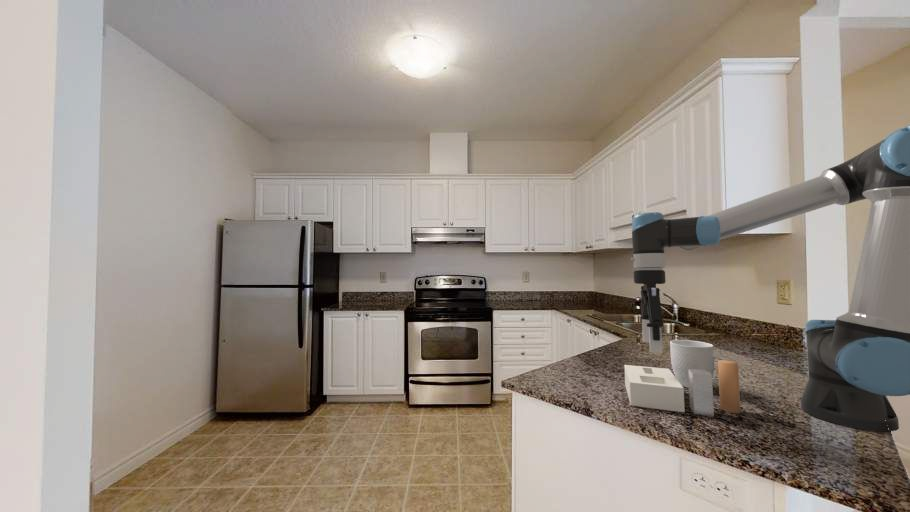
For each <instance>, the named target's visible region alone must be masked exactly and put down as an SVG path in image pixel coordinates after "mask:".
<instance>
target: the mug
mask: <svg viewBox="0 0 910 512" xmlns="http://www.w3.org/2000/svg"><path fill="white" fill-rule="evenodd" d="M669 344H670V347H669V348H670V349H669V350H670V353H669V354H670V363H671V368H672V370H673V371H672V373H673V375H674V376H675V377H676V379H677V380H678V381H679V383H680V384H681V385H682V387H683V388H688V389H689V375H688V369H698V370H707V371H708V372H709V373H711V374H712V385H713V384H715V385H716V384H718V385H719V379H718V380H716V379H713V376H714V373H715V372H714V371H715V360H727V359H726V358H725V357H723V356H721V355H719V354H715V351H714V350H715V349H714V345H713V344H712V343H708V342H704V341H700V340H699V341H698V340H689V339H688V340H687V339H673V340H670V341H669Z"/></svg>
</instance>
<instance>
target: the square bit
mask: <svg viewBox="0 0 910 512" xmlns="http://www.w3.org/2000/svg"><path fill="white" fill-rule="evenodd" d="M688 375H689V388H688V394H689V408H690V410H691V411H692V413H693V414H694V415H699V414H700V415H701V416H707V415H711V416H710V417H715V413H714V412H715V411H714V392H713V391H714V390H713V383H712V379H713V377H712V374H711V373H709V372H708V371H707V370H698V369H688Z"/></svg>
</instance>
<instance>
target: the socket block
mask: <svg viewBox="0 0 910 512" xmlns="http://www.w3.org/2000/svg"><path fill="white" fill-rule="evenodd" d="M624 385H625V389H626V393H627V396H628V400H629V405H630V406H632V407H641V408H646V409H647V408H648V409H653V410H654V409H656V410H663V411H670V412H671V411H672V412H679V413H685V389H684V388H685V387H684V386H682V385H681V384H680V383H679V381H678V380H677V379H676V377H675V374H674V372H673V371H671V369H670V368H666V367H665V368H664V367H655V366H654V367H653V366H642V365H630V364H624Z"/></svg>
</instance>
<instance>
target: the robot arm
mask: <svg viewBox="0 0 910 512" xmlns="http://www.w3.org/2000/svg"><path fill="white" fill-rule="evenodd" d="M864 200H869V201H870V208H869V213H868V218H867V223H866V227H865V232H864V237H863V242H862V246H861V247H862V248H861V251H860V256H859V261H858V265H857V266H858V267H857V270H856V271H857V272H856V276H855V280H854V284H853V290H852V295H851V300H850V304H849V310H848V311H847V312H846V313H845V314H842V315H839V316H836V319H810V320H808V321H807V322H806V324H805V325H806V326H805V331H804V333H805V336H806V351H807V364H808V367H807V368H808V381H807V383H806V385H805V387H804V391H803V393H802V394H801V398H800V408H801V410H802V411H803V412H805V413H806V414H809V415H811V416H813V417H815V418H818V419H820V420H823V421H827V422H828V423H829V422H830V423H832V424H833V423H834V424H838V425H841V426H845V427H850V428H855V429H859V430H860V429H861V430H868V431H876V432H895V431H898V430H899V429H900V424H899V418H898V416H897V414H896V412H895V410H894V407H893V406H892V404H891V402H890V401H889V399H888V397H901V396H902V397H904V396H909V395H910V124H909V125H907V126H905V127H902V128H899V129H897V130H895V131H893V132H892V133H890V134H888V135H887V136H886V137H885V138H884V139H882V140H881V141H879V142H878V143H877V142H876V143H875V144H874V145H872V146H870V147H868V148H867V149H866V150H864V151H862V152H861V153H858V154H857V155H855V156H854V157H852V158H850V159H848V160H846V161H845V162H842V163H840V164H838V165H836V166H833V167H830V168H827V169H823V171H821V173H820V175H819V176H817V177H814V178H811V179H808V180H805V181H803V182H799V183H797V184H794V185H791V186H789V187H786V188H785V187H784V188H783V189H780V190H776V191H774V192H772V193H769V194H766V195H763V196H759V197H758V198H754V199H752V200H750V201H746V202H743V203H740V204H738V205H735V206H732V207H728V208H726V209H724V210H720V211H718V212H714V213H711V214H709V215H706V216H705V215H700V216H694V217H693V216H692V217H685V218H684V217H683V218H681V217H680V218H671V219H670V218H668V219H667V218H665V217H664V215H663V213H661V212H657V211H654V212H642V213H638V214H634V216H633V217H632V222H631V226H632V227H631V238H632V239H631V240H632V255H633V257H631V258H630V261H631V262H633V268H634V269H635V270H634V271H633V282H634V284H637V285H639V284H640V285H641V286H640V289H641V290H640V295H641V301H640V302H641V303H640V304H641V305H640V306H641V307H640V315H641V325H642V327H641V328H642V330H641V331H642V343H647V344H648V343H649V353H650V354H664V353H663V350H664V349H663V331H662V330H663V329H662V328H663V326H664V320H663V311H662V304H661V297H660V292H661V290H660V287H657V285H665V283H666V271H665V270H664V268H666V257H665V256H666V255H665V254H666V253H665V248H671V247H672V248H676V247H679V248H681V249H683V250H689V251H691V250H695V249H697V248H699V247H707V246H716V245H718V244H719V243H720V240H723V239H726V238H730V237H733V236H735V235H736V236H737V235H740V234H743V233H745V232H749V231H752V230H755V229H759V228H761V227H765V226H768V225H771V224H775V223H778V222H781V221H784V220H787V219H790V218H794V217H797V216H799V215H803V214H806V213H809V212H813V211H816V210H819V209H822V208H825V207H829V206H832V205H839V206H845V205H849V204H852V203H855V202H858V201H859V202H860V201H864ZM664 218H665V219H664ZM885 420H886V421H885ZM887 425H888V426H887ZM888 428H889V430H890V431H889V430H888Z"/></svg>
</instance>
